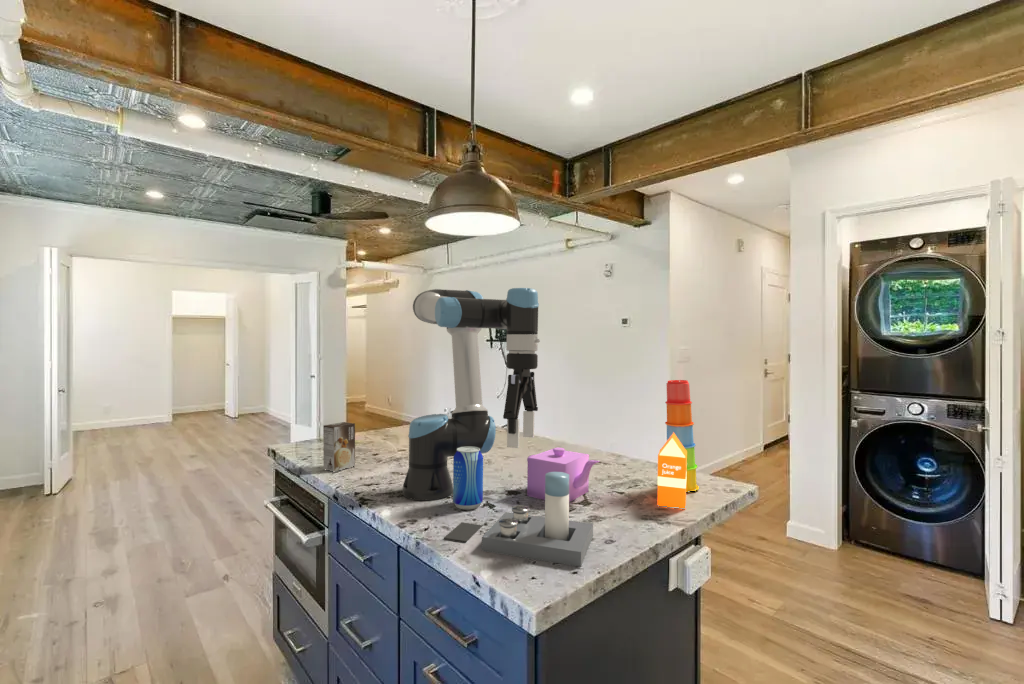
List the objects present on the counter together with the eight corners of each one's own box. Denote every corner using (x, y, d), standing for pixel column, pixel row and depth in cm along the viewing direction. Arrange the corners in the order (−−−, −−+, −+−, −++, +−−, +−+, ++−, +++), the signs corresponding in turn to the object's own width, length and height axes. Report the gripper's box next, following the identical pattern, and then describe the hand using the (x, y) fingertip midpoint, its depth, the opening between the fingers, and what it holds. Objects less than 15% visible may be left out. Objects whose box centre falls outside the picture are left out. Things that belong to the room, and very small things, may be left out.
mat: (443, 539, 111) (443, 537, 111) (461, 523, 120) (461, 522, 120) (483, 545, 107) (483, 543, 107) (498, 529, 117) (498, 527, 117)
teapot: (587, 510, 131) (588, 460, 131) (513, 493, 145) (514, 447, 145) (609, 496, 143) (610, 450, 143) (540, 481, 158) (540, 439, 158)
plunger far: (509, 528, 113) (509, 510, 113) (514, 522, 117) (515, 504, 117) (526, 531, 111) (526, 512, 111) (531, 524, 115) (531, 506, 115)
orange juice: (656, 506, 134) (657, 436, 134) (659, 496, 143) (659, 430, 143) (686, 510, 132) (686, 438, 132) (686, 500, 140) (687, 432, 140)
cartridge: (541, 548, 105) (542, 477, 105) (547, 539, 110) (548, 470, 110) (565, 552, 103) (566, 479, 103) (570, 542, 108) (571, 473, 108)
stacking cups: (691, 495, 144) (692, 382, 144) (659, 488, 151) (660, 380, 151) (704, 488, 152) (705, 380, 152) (673, 481, 159) (674, 378, 159)
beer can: (485, 509, 131) (486, 451, 131) (455, 511, 128) (456, 453, 128) (479, 499, 139) (479, 444, 139) (450, 501, 137) (451, 446, 136)
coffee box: (344, 464, 176) (344, 421, 176) (355, 467, 172) (356, 423, 172) (322, 470, 168) (323, 425, 168) (333, 472, 165) (334, 427, 165)
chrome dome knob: (496, 543, 104) (496, 523, 104) (502, 536, 108) (502, 517, 108) (514, 546, 103) (514, 526, 103) (520, 539, 107) (520, 519, 107)
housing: (481, 552, 104) (481, 536, 104) (505, 525, 119) (505, 512, 119) (580, 569, 97) (581, 552, 97) (592, 538, 112) (593, 523, 112)
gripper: (522, 353, 101) (521, 454, 101) (549, 351, 124) (548, 433, 124) (489, 353, 104) (488, 451, 104) (522, 351, 127) (521, 431, 127)
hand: (521, 442), depth 114 cm, fingers open, 12 cm apart
